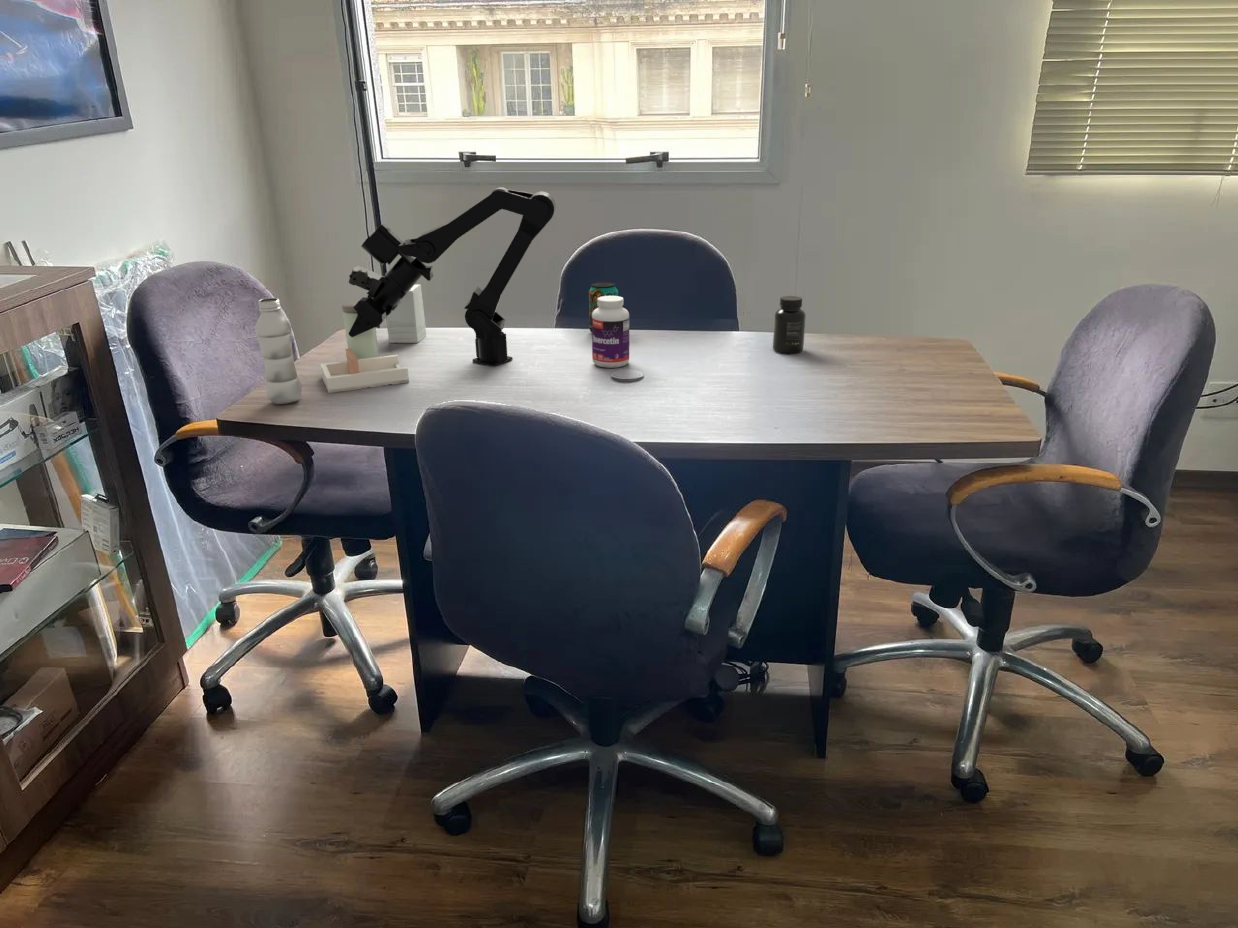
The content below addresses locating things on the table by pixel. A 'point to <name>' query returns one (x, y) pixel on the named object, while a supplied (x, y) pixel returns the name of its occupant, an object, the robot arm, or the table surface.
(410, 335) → the supplement box
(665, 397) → the table surface
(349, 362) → the pusher paddle
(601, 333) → the pill bottle
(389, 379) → the white rectangular tray
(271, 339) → the plastic bottle
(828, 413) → the table surface
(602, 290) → the beverage can
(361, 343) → the ceramic jar
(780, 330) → the supplement bottle
